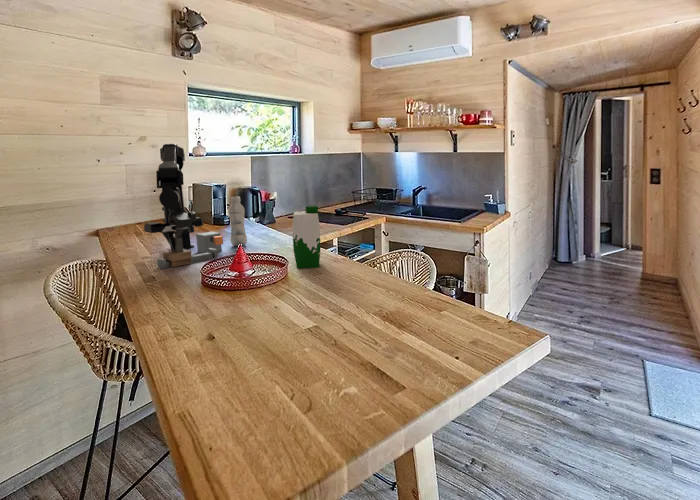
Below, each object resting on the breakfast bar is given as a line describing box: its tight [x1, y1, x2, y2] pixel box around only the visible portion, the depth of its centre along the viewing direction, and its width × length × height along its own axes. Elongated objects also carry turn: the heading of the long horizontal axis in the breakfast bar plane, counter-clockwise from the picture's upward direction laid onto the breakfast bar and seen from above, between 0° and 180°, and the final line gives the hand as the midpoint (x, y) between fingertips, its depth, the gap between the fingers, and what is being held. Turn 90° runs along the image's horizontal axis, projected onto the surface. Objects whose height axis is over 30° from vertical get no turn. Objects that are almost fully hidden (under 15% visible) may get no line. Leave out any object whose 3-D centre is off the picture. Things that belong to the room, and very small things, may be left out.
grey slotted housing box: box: [195, 231, 223, 254], centre depth 183 cm, size 6×7×7 cm
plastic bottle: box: [227, 196, 248, 247], centre depth 190 cm, size 6×7×20 cm
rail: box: [156, 248, 219, 270], centre depth 165 cm, size 4×21×3 cm, turn 138°
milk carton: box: [292, 205, 321, 269], centre depth 155 cm, size 9×9×20 cm
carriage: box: [163, 235, 192, 268], centre depth 162 cm, size 6×7×9 cm
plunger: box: [210, 235, 224, 246], centre depth 180 cm, size 7×3×3 cm, turn 48°
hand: (176, 249), depth 162 cm, fingers closed on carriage, 2 cm apart
